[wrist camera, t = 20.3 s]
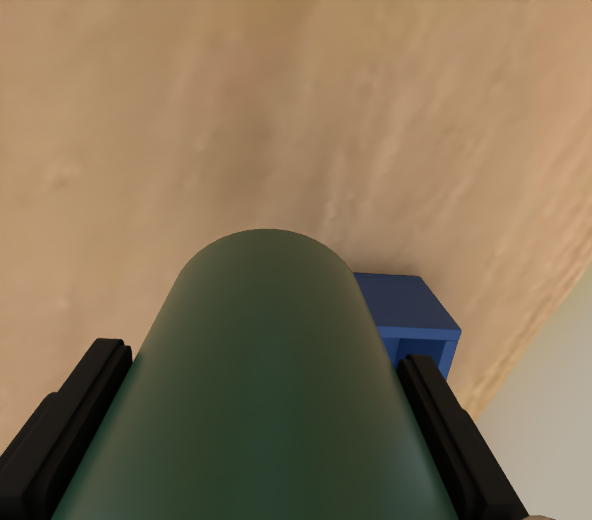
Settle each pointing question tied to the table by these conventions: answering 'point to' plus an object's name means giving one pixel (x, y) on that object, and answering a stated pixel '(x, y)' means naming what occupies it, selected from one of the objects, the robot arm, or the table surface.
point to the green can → (260, 402)
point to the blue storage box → (410, 318)
